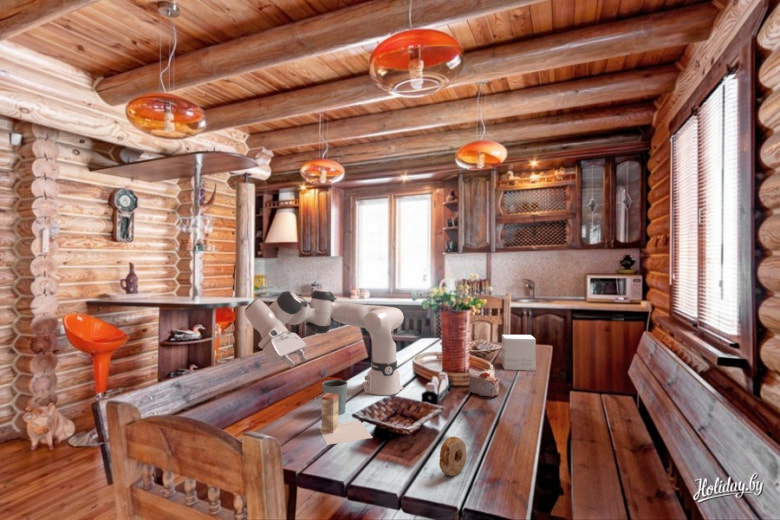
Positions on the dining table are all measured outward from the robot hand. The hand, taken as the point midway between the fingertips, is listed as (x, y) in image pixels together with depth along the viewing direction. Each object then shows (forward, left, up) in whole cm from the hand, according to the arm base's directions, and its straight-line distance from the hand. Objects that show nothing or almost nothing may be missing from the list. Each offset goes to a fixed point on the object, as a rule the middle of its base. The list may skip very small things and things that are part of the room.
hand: (299, 363), depth 151 cm
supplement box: (-43, +130, -24) cm, 139 cm away
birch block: (+7, +10, -23) cm, 26 cm away
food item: (-9, +85, -24) cm, 89 cm away
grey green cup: (-10, +15, -24) cm, 30 cm away
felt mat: (+11, +14, -23) cm, 30 cm away
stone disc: (+48, +37, -24) cm, 66 cm away
